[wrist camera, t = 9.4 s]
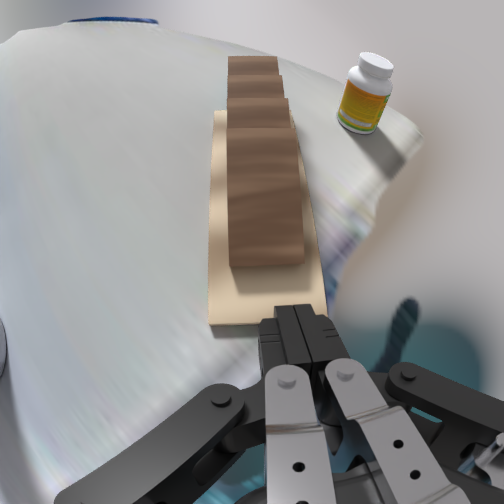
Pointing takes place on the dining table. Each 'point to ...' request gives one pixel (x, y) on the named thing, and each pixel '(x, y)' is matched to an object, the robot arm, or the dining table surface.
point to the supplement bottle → (365, 93)
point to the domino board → (255, 277)
